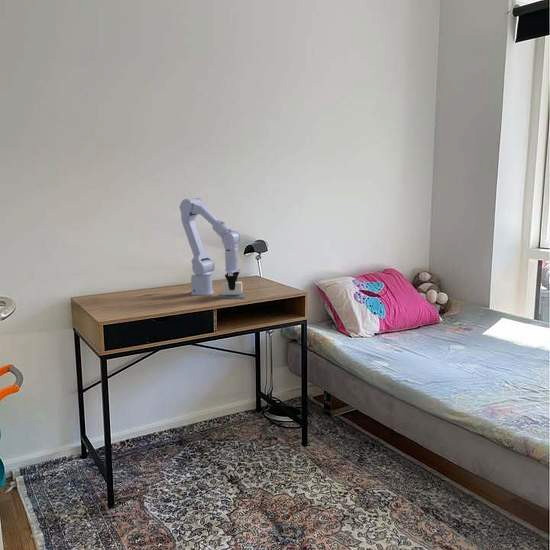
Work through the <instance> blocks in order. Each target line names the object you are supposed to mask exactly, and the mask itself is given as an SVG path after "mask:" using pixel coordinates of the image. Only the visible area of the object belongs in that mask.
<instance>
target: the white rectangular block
mask: <svg viewBox="0 0 550 550" xmlns="http://www.w3.org/2000/svg"><path fill="white" fill-rule="evenodd" d="M221 286H222V287H221V288H222V293H243V281H237V282H236V283H235V289H234V290H230V289H229V285H228V282H227V281H223V282H222V283H221Z"/></svg>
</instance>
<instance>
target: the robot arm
mask: <svg viewBox="0 0 550 550" xmlns="http://www.w3.org/2000/svg"><path fill="white" fill-rule="evenodd" d="M179 211H180V216H181V217H180V219H181V220H180V221H181V223H182V227H183V229H184V232H185V234H186V237H187V241H188V243H189V245H190V249H191V251H192V254H193V258H192V259H191V260H190V261H191V265H192V267H191V269H192V271H193V273H194V274H191V278H190V287H191V288H190V289H191V296H212V295H214V292H215V290H213V277H212V275H213V272H214V270H215V262H214V261H213V260H212V258H211V256H210V255H209V254H208V253H206V251H205V249H204V245H203V242H202V239H201V236H200V233H199V230H198V228H197V225H196V222H195V220H196V218H197V216H198V215H200V216H201V217H202V218H203V219H205V220H206V221H207V222H208V223H209V224H210V225H211V226H212V230H213V231H214V232H215V233H216V234H217V235H218V237H220V238H221V242H222V244H223V245H224V252H225V253H224V256H225V257H224V258H225V259H224V260H225V263H224V264H225V269H224V270H225V272H226V274H224V277H225V279H226V282H228V285H229V289H230V290H234V289H235V283H236V282H238V281H237V280H238V277H239V274H240V271H242V268H240V267H239V243H240V241H241V236H240V234H239V233H238V231H233V229H232V228H231V227H229V226H228V225H227V224H226V221H225V220H221V219H218V218H217V217H216V216H215V215H214V214H213V213H212V212H211V210H210V209H209V208H208V207H207V205H206V203H205V202H204V201H203V200H202V199H201V198H197V197H195V198H184V199H183V200H182V201H181V203H180V205H179Z"/></svg>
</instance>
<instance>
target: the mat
mask: <svg viewBox="0 0 550 550" xmlns="http://www.w3.org/2000/svg"><path fill="white" fill-rule="evenodd" d="M246 294H247V293H246V292H242V293H223V292H222V293H219V294H218V295H217V297H216V298H217V299H245V297H246Z"/></svg>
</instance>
